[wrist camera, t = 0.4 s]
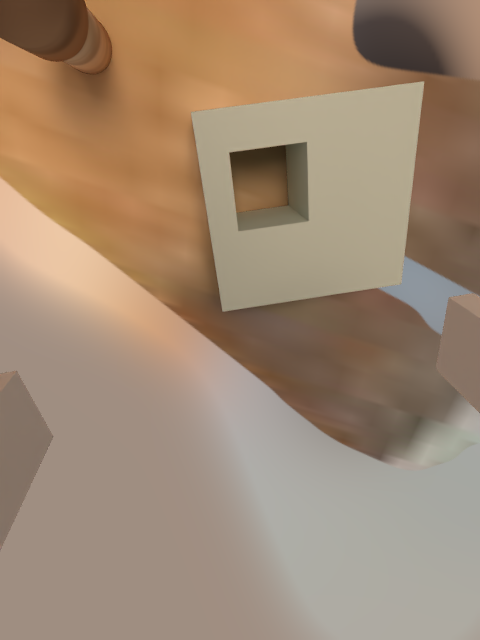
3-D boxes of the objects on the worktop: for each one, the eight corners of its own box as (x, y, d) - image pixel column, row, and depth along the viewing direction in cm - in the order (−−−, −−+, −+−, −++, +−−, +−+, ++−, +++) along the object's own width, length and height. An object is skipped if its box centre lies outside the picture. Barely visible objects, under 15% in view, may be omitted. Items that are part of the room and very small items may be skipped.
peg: (46, 11, 25) (-62, -78, 15) (107, 3, 25) (43, -90, 15) (68, 83, 27) (-14, 51, 17) (124, 76, 27) (78, 40, 17)
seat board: (192, 116, 29) (190, 112, 23) (377, 92, 30) (424, 81, 24) (218, 281, 36) (222, 311, 30) (367, 259, 37) (401, 284, 31)
